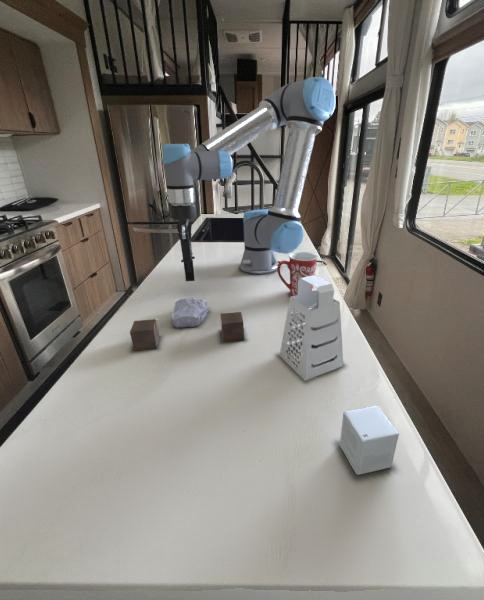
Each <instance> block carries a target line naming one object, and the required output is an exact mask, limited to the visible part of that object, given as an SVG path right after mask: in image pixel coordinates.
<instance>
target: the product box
mask: <svg viewBox="0 0 484 600" xmlns="http://www.w3.org/2000/svg"><path fill="white" fill-rule="evenodd" d="M399 435H400V433H399V432H398V430H397V429H396V428H395V426H394V425H393V424H392V423H391V422H390V419H388V418H387V416H386V415H385V413H384V412H383V411H382V409H381V408H380V406H379V405H372V406H371V405H370V406H367V407H362V408H358V409H357V408H356V409H353V410H348V411H347V410H346V411H343V413H342V422H341V431H340V439H339V446H340V448H341V450H342V451H343V454H344V455H345V457H346V459H347V460H348V462H349V464H350V466H351V468H352V469H353V471H354V474H356V476H359V475H364V474H368V473H373V472H377V471H380V470H384V469H389V468H392V466H393V463H394V458H395V454H396V450H397V449H396V448H397V444H398V439H399Z"/></svg>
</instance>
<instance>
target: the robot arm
mask: <svg viewBox="0 0 484 600" xmlns="http://www.w3.org/2000/svg"><path fill="white" fill-rule="evenodd" d="M336 102H337V101H336V93H335V90H334V88H333V85H332V83H331V82H330V81H329V80H328V79H327V78H325V77H323V76H309V77H307V78H306V79H302V80H297V81H293V82H289V83H287V84H284V85H282V86H281V87H280V88H279V89H277V90H275V91H274V92H273V93H271V94H270V95H269V96H267V97H265V98H264V99H263V100H261V101H260V102H258V103H259V104H258V105H257V106H258V107H256V108H255V109H253V110H252V111H250V112H248V114H245V115H244V116H242V117H241V118H239V119H238V120H236V121H235V122H233V123H231V124H230V125H228V126H227V127H224V129H222V130H220V131H219V132H217V133H216V134H215V135H213V136H211V137H209V138H208V139H206V140H204V141H203V142H201V144H199V145H197V146H196V147H194V148H193V149H192V148H191V146H190V144H188V143H165V144H164V145H162V147H161V148H162V149H161V152H162V153H161V156H162V165H163V172H164V178H165V187H166V191H165V192H164V195H165V196H167V201H168V203H169V205H168V212H169V218H170V219H172V220H177V221H178V223H177V226H176V229H177V232H178V239H179V243H180V248H181V256H182V259H181V260H180V262H181V263H183V270H184V276H185V282H195V280H196V279H195V278H196V277H195V270H194V260H195V258H196V257H195V256H193V248H192V236H193V235H192V222H190V221H189V220H192V219H195V218H196V217H197V207H196V204H195V202H196V194H195V193H196V192H195V185H194V181H195V182H196V181H210V180H211V181H212V180H222V179H228V178H230V177H231V176H232V173H233V168H234V164H233V163H234V162H233V159H232V155H233V154H235V153H236V152H237V151H239V150H241V149H243V147H245V146H247V145H249V143H251V142H253V141H254V140H255V139H257V138H259V137H261V135H263V134H265V133H266V132H268V131H275V130H276V129H278V128H279V127H282V126H285V125H286V126H287V128H288V129H289V130H288V135H287V139H286V146H285V150H284V155H283V158H282V159H283V160H282V164H281V168H280V173H279V178H278V183H277V187H276V193H275V197H274V201H273V205H272V206H271V207H270V208H263V209H252V210H247V211H245V212H244V213H243V218H242V219H243V220H242V223H243V243H244V244H243V245H244V250H243V254H242V258H241V261H240V270H241V271H243V272H245V273H247V274H253V275H265V274H271V273H275V271H277V267H278V264H279V262H281V261H279V260H278V257H277V254H276V253H280V254H282V255H286V254H291V253H294V252H295V250H296V249H298V248H299V247H300V245H301V243H302V242H303V239H304V235H305V234H304V229H303V226H302V224H301V223H300V222H301V218H302V216H301V215H300V212H299V207H300V203H301V199H302V195H303V191H304V186H305V182H306V179H307V178H306V177H307V174H308V169H309V164H310V161H311V156H312V153H313V148H314V144H315V140H316V136H317V135H318V134H319V133H321V132H322V131H323V126H324V122H325V121H327V120H328V119H329V118H330V117H332V115H333V113H334V111H335V109H336ZM322 262H323V263H322ZM316 263H321V264H322V265H324V266H328V264H327V263H326V262H325V261H323V260H317V261H316ZM285 265H286V266H287V264H285Z"/></svg>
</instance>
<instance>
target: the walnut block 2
mask: <svg viewBox="0 0 484 600" xmlns="http://www.w3.org/2000/svg"><path fill="white" fill-rule="evenodd" d="M220 325H221V326H220V328H221V336H222V343H228V342H239V341H245V332H244V331H245V328H244V326H245V325H244V318H243V314H242V311H234V312H222V313H220Z"/></svg>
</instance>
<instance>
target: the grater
mask: <svg viewBox="0 0 484 600" xmlns="http://www.w3.org/2000/svg"><path fill="white" fill-rule="evenodd" d="M312 285H313V287H315V288H316V289H315V290H313V291H311V287H312ZM334 295H335V288H334V286H333V284H332V283H331V282H330V281H328V280H326V279H324V278H322V277H320V276H318V275H316V274H315V275H312V276H308V277H303V278H300V279H299V281H298V295H295V296H291V295H290V298H289V302H288V308H287V311H286V318H285V324H284V329H283V334H282V340H281V345H280V351H279V357H281V358H282V359H283V361H285V362H286V363H287V364H288V365H289V367H291V368H292V370H294V371H295V373H297V374H298V375H299V376H300V378H302V379H303V380H304V381H309V380H310V379H314V378H316V377H318V376H321V375H323V374H326V373H329V372H332V371H334V370H337V369H339V368H341V367H344V352H343V350H344V349H343V335H342V334H343V333H342V318H341V317H342V316H341V303H340V301H338V300H337V299H335V298H334ZM304 323H305V324H304ZM312 346H318V347H316V348H313V347H312ZM332 359H334V360H332ZM329 360H332V361H329ZM327 361H329V362H327ZM298 362H299V363H298ZM324 362H327V363H324ZM321 363H324V364H321ZM318 364H321V365H318ZM312 365H315V366H316V365H318V366H316V367H312Z"/></svg>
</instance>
